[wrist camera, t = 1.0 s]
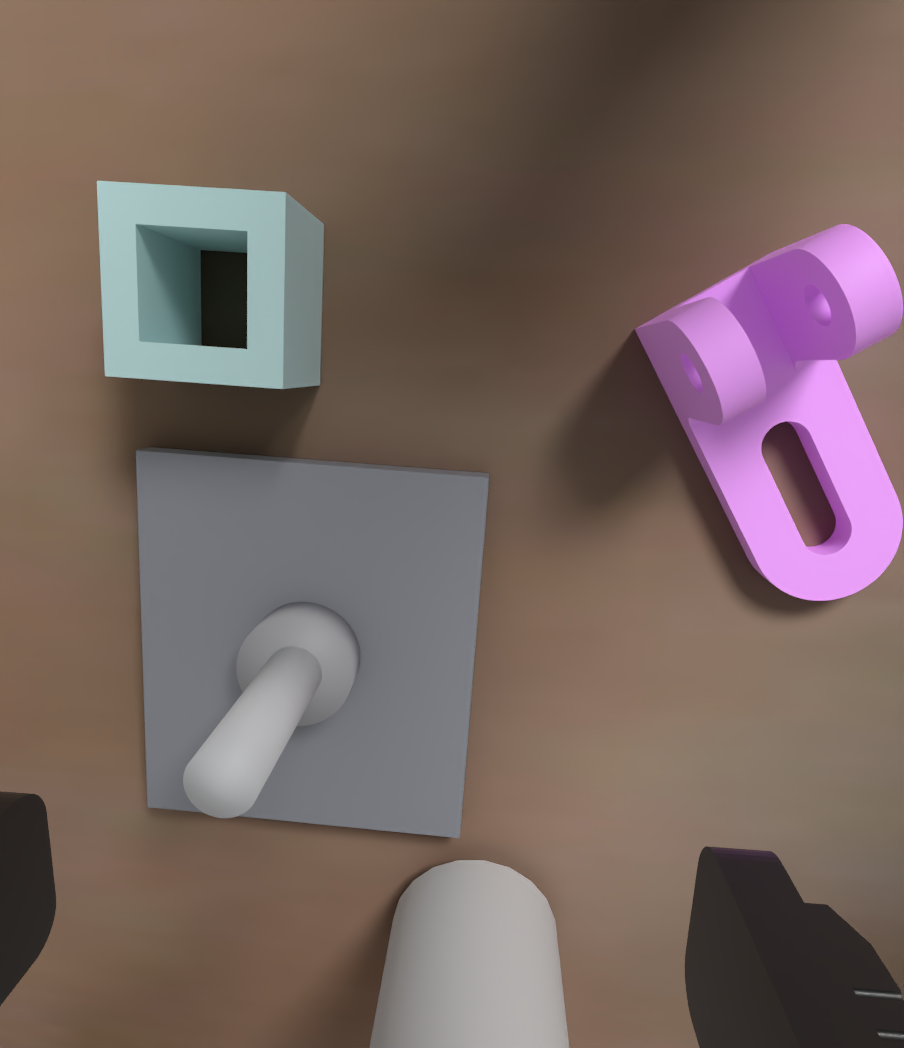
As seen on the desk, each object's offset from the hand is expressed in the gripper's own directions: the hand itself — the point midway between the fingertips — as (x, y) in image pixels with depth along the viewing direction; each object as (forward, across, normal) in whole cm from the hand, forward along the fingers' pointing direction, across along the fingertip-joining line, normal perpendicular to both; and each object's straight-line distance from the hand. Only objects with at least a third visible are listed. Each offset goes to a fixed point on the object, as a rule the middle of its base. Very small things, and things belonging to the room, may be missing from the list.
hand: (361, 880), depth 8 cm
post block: (+21, +6, +6) cm, 22 cm away
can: (+21, -2, +19) cm, 28 cm away
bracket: (+21, -12, -4) cm, 25 cm away
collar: (+21, +9, -8) cm, 24 cm away
